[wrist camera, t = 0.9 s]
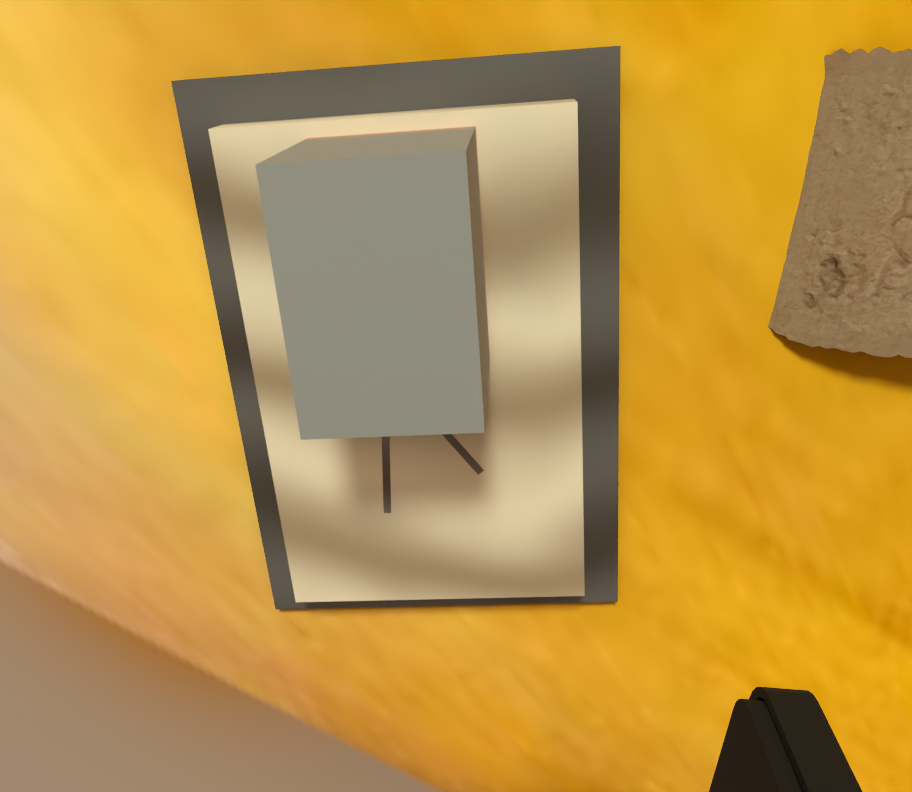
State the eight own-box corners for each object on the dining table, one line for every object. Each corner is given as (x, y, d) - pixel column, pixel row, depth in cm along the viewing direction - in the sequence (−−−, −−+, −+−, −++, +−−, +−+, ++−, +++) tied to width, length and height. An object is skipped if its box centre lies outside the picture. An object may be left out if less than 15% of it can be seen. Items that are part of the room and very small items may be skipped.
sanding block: (307, 138, 27) (255, 164, 21) (475, 126, 26) (466, 150, 21) (339, 365, 30) (300, 439, 25) (489, 358, 30) (485, 432, 24)
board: (176, 80, 28) (153, 83, 27) (618, 45, 27) (626, 47, 25) (278, 602, 37) (266, 631, 35) (616, 594, 36) (621, 625, 34)
